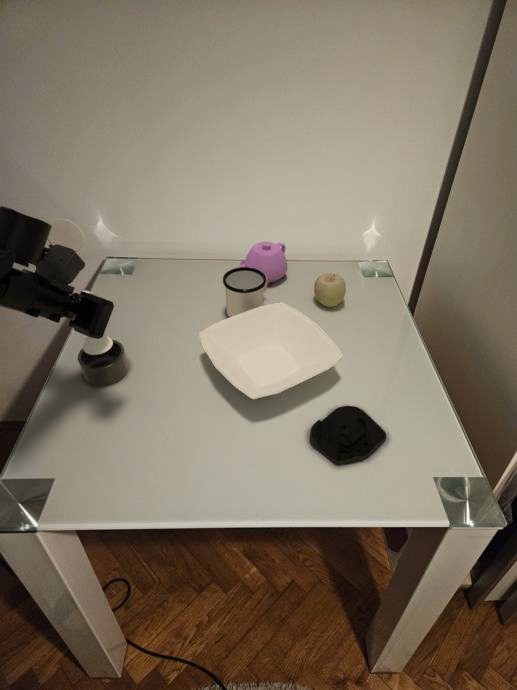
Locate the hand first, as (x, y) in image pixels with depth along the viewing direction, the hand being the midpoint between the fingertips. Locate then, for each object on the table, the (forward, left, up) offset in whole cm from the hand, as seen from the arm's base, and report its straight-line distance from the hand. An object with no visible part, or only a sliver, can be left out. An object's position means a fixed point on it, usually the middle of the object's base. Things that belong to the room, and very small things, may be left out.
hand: (95, 313), depth 77 cm
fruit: (+50, +9, -13) cm, 53 cm away
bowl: (+30, -8, -13) cm, 34 cm away
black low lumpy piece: (+38, -28, -13) cm, 49 cm away
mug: (+31, +11, -13) cm, 36 cm away
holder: (-1, -1, -13) cm, 13 cm away
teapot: (+38, +23, -13) cm, 47 cm away
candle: (-1, -1, -7) cm, 7 cm away
